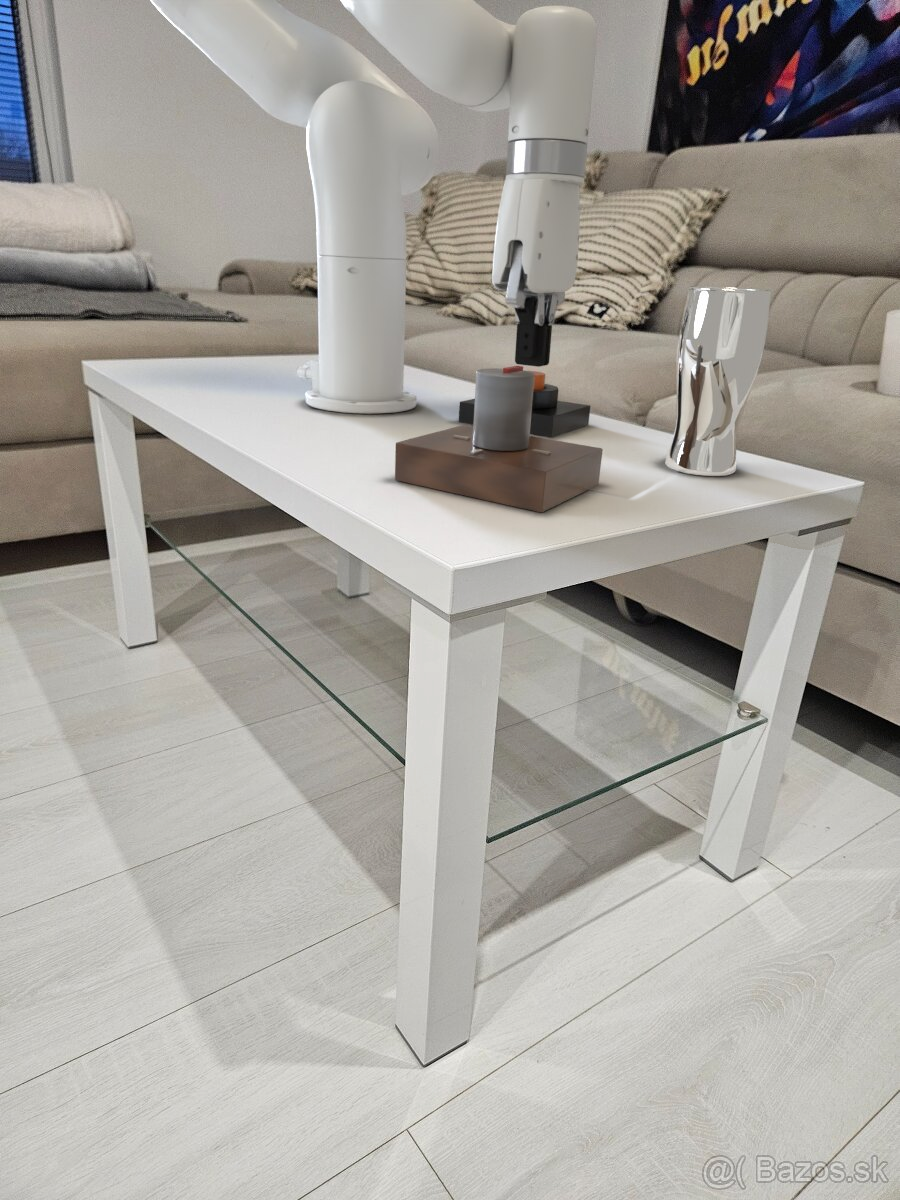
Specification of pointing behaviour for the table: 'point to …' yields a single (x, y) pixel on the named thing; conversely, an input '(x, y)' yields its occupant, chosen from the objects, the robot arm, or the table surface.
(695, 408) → the beer glass
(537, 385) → the button
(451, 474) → the brown wooden base
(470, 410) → the button box
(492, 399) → the knob
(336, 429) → the table surface
